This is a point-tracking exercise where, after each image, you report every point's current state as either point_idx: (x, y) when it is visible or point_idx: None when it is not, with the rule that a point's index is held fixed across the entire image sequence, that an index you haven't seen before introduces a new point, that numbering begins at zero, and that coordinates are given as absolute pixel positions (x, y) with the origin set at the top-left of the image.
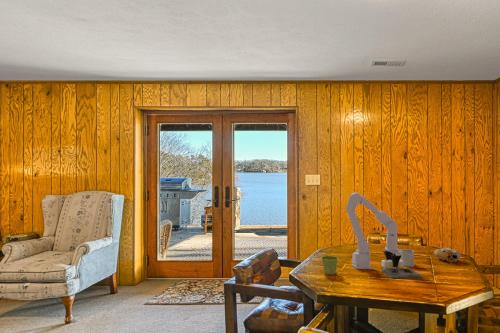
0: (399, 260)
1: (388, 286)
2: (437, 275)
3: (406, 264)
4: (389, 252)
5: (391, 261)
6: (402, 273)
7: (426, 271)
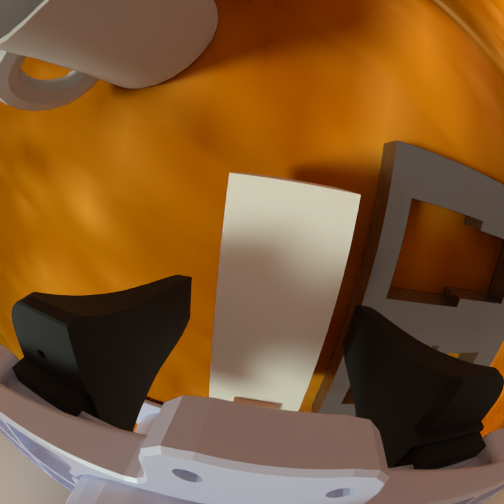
0: (284, 225)
1: (486, 433)
2: (497, 42)
3: (190, 52)
4: (105, 401)
5: (306, 385)
6: (483, 340)
7: (404, 7)
